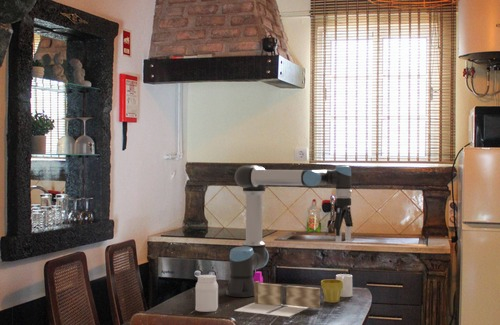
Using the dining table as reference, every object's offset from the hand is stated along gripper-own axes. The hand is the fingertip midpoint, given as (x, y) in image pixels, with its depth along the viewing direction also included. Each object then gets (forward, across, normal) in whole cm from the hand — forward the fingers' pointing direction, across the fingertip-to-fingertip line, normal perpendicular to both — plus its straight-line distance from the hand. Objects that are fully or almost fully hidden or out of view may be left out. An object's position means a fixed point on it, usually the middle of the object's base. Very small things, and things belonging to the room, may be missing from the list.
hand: (343, 241), depth 344 cm
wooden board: (+28, -29, +18) cm, 44 cm away
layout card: (+28, -37, +21) cm, 51 cm away
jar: (+28, -50, +47) cm, 75 cm away
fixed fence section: (+28, -29, +26) cm, 48 cm away
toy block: (+29, +15, +60) cm, 68 cm away
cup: (+28, +8, +3) cm, 30 cm away
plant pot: (+28, -7, +3) cm, 30 cm away
